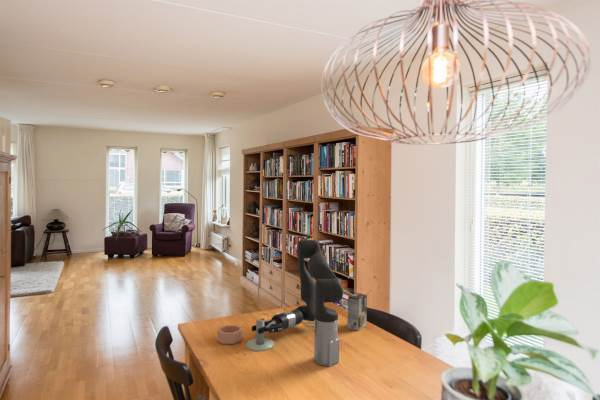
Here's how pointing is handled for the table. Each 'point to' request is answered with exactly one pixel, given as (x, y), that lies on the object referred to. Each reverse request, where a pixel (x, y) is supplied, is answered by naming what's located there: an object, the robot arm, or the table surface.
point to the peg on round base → (259, 340)
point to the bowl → (229, 334)
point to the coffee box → (357, 311)
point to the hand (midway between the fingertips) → (255, 330)
